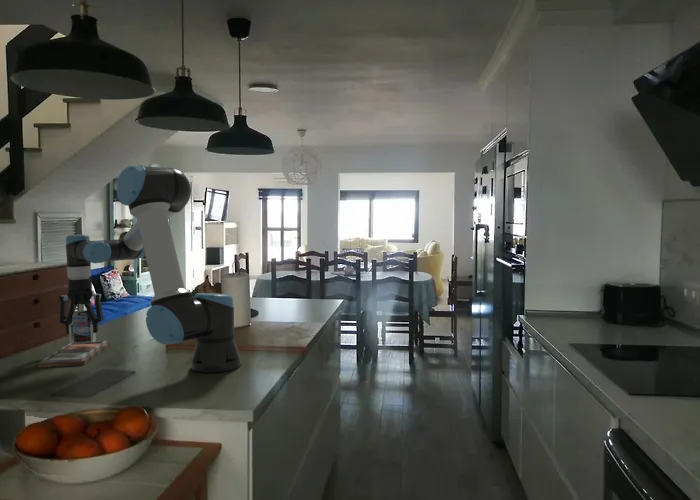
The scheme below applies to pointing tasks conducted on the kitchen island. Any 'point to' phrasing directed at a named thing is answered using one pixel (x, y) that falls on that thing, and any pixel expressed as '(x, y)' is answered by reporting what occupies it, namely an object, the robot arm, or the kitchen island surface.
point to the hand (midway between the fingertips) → (82, 342)
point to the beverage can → (81, 327)
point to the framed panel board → (74, 354)
